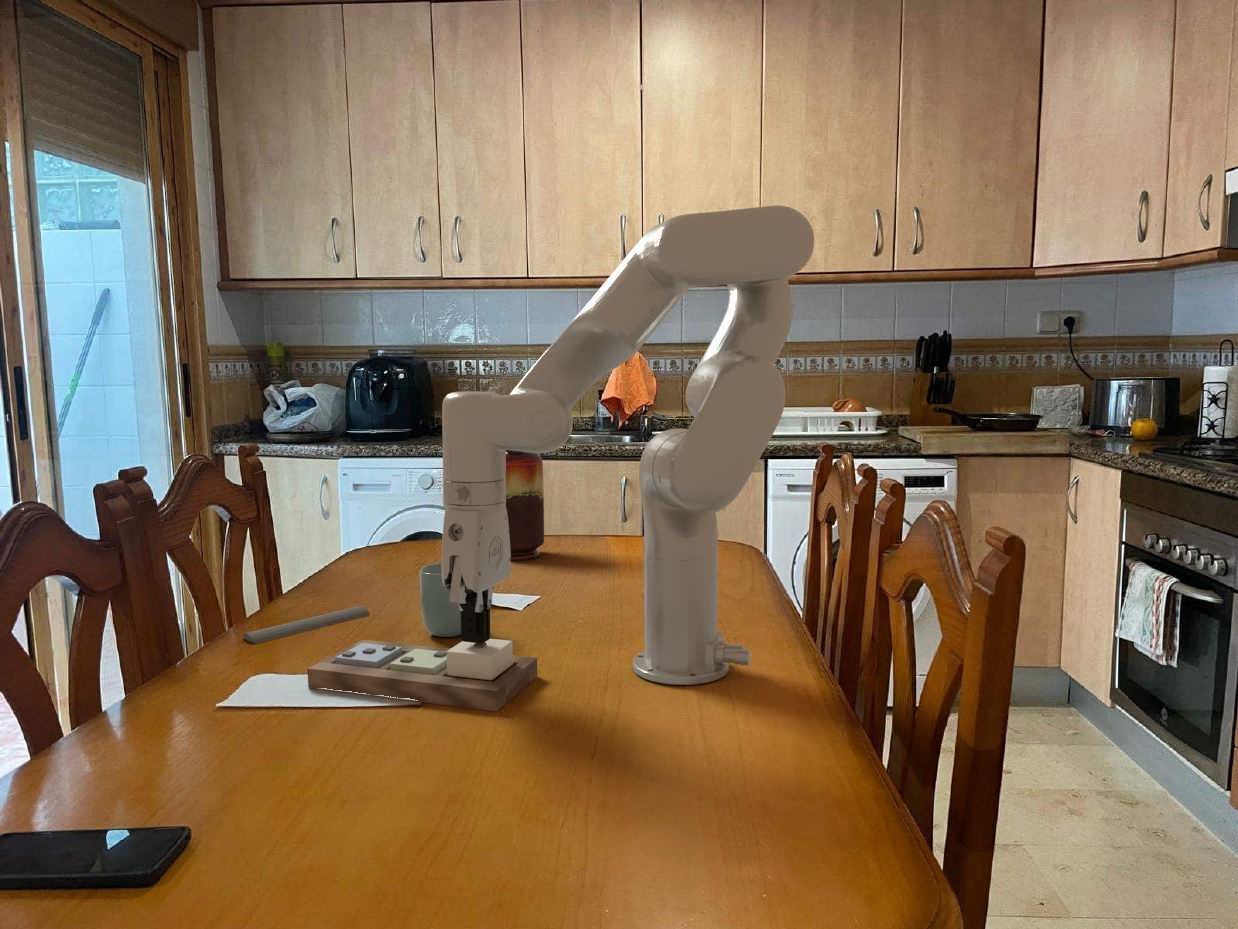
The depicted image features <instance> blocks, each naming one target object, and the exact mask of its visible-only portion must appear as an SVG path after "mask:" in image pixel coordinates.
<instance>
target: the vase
mask: <svg viewBox="0 0 1238 929" xmlns="http://www.w3.org/2000/svg"><path fill="white" fill-rule="evenodd" d="M543 462H544V461H543V459H542V457H541V455H539V454H538V453H528V452H521V451H512V450H506V509H507V516H508V524H509V536H510V555H511V561H512V562H513V561H514V562H516V561H517V562H518V561H529V560H533V559H536V558H539V557H540V556H541V555H540V554H541V553H540V551H539V550H538V548H540V547H541V546H542V545H544V543H545V508H544V507H545V505H544V504H545V502H544V500H545V499H544V495H545V494H544V463H543Z"/></svg>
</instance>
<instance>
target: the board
mask: <svg viewBox="0 0 1238 929" xmlns="http://www.w3.org/2000/svg"><path fill="white" fill-rule="evenodd" d="M362 643H368V644H377V645H392V646H396V647H402V655H400V656H398V657H397V658H395V659H393V660H391V661H390V662H388V663H386V664H385V665H383V666H381V667H379V668H378V669H376V668H368V667H359V666H350V665H342V664H336V661H335V657H337V656H339V655H341V654H342V653H344V652H346V651H348V650H350V649H352V648H354V647H356V646H358V645H360V644H362ZM414 649H424V650H433V651H443V652H447V651H448V650H449V649H450V648H448V647H447V648H446V647H437V646H427V645H418V644H410V643H397V642H389V641H379V640H369V639H361V640H359V641H358V642H356V643H354V644H352V645H350V646H348V647H346V648H344V649H342V650H340V651H338V652H337V653H333V655H330V656H329V657H327V658H324V659H323V660H320V661H319V662H317V663H315V664H313V665H312V666H311V665H310V667H307V669H306V670H307V687H310V689H315V688H327V689H333V690H342V691H352V692H358V693H366V694H370V695H384V696H389V697H390V696H391V697H396V698H397V697H398V698H410V699H415V700H418V701H420V702H419V703H426V704H428V703H429V704H433V705H435V704H436V705H442V706H450V707H457V708H466V709H473V710H482V711H490V712H498V710H501V708H502V707H504V706H505V705H506V704H507V703H509V701H511V700H512V699H513V698H514V697H516V696H517V695H518V694H519V693H520V692H521V691H523V690H524V689H525V688H526V687H527V686H529V684H531V683H532V682H533V681H534V680H535V679H536V678H538V657H532V656H522V655H514V654H513V664H512V665H511V666H510V667H508V668H507V669H506V670H504V671H503V672H502V673H501V674H499V675H498V676H497V677H495V678H494V679H493V680H495V681H490V680H488V681H487V680H481V679H479V680H477V679H472V678H468V677H460V676H451V675H447V667H446V668H444V669H443V670H441V671H440V672H438V673H437V674H435V675H428V674H420V673H411V672H402V671H394V670H390V663H392V662H393V661H395V660H397V659H398V658H400V657H402V656H404V655H405V654H407V653H409V652H410V651H412V650H414ZM370 695H369V696H370Z"/></svg>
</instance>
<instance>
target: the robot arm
mask: <svg viewBox="0 0 1238 929" xmlns="http://www.w3.org/2000/svg"><path fill="white" fill-rule="evenodd" d="M814 246H815V234H814V229H813V228H812V225H811V223H810V221H809V219H808V218H806V216H804V215H803V214H802V213H801V212H800V211H798V210H797V209H794V208H793V207H790V206H786V205H767V206H766V205H765V206H757V207H749V208H740V209H739V208H738V209H729V210H720V211H719V210H718V211H707V212H696V213H695V212H694V213H687V214H680V215H675V216H673V217H671V218H668V219H667V220H665V221H663V222H661V223H659V224H657V225H655V226H653V227H651V228H650V229H649V230H647V232H646V233H645V234H643V236H641V237H640V239H639V240H638V241H637V242H636V243H635V245H633V247H632V248H631V249H630V251H629V252H628V254H627V255H626V256H625V257H624V258H623V259H622V261H621V262H620V263H619V264H618V265H617V267H616V268H615V269H614V271H613V272H612V273H611V274H610V275H609V277H608V278H607V279H606V280H605V282H604V283H603V284H602V285H601V286H600V288H599V289H598V290H597V291H596V292H595V294H594V295H593V296H592V297H591V299H590V300H589V301H588V302H587V303H586V305H585V306H584V307H583V308H582V309H581V311H580V312H578V314H576V316H575V317H574V318H573V319H572V320H571V322H569V324H567V326H566V328H565V329H564V330H563V331H562V332H561V334H559V336H558V337H557V338H556V339H555V341H554V342H553V343H552V344H551V345H550V346H549V347H548V348H547V349H546V350H545V351H544V352H543V354H542V355H541V356H540V357H539V359H537V361H536V362H534V364H533V366H532V367H531V368H530V369H529V371H528V372H527V373H526V374H525V375H524V376H523V378H522V379H521V380H520V381H519V382H518V384H517V385H516V386H515V387H514V388H513V390H512V391H511V392H510V393H509V394H499V393H497V392H492V391H473V390H472V391H470V390H468V391H455V392H450V393H447V395H446V396H445V397H444V398H443V401H442V405H441V406H442V412H441V415H442V416H441V419H442V420H441V422H442V423H441V424H442V426H441V427H442V428H441V430H442V432H441V434H442V499H443V500H442V501H443V502H442V504H443V505H442V506H443V508H445V510H444V515H443V516H444V517H443V526H442V535H441V536H442V540H441V563H442V581H443V585H444V587H445V588H446V589H448V590H451V591H450V602H451V603H458V606H459V610H460V611H461V635H460V639H461V642H462V641H464V642H471V643H480V644H483V643H485V642H486V641H488V640H489V639H491V609H490V608H491V606H492V604H493V591H494V588H496V586H497V585H498V584H500V583H502V582H504V581H505V580H507V578H508V577H509V576H510V575H511V570H512V562H511V555H510V536H509V524H508V516H507V509H506V450H512V451H521V452H528V453H537V454H538V455H539V454H548V453H552V452H554V451H556V450H558V449H559V448H561V447H562V446H564V445H565V443H566V442H568V440H569V439H570V437H571V434H572V431H573V426H574V425H573V424H574V420H573V414H572V412H571V410H572V408H573V407H574V406H575V404H576V403H577V402H578V401H579V400H580V399H581V398H582V397H583V396H584V395H585V393H586V392H587V391H588V390H589V389H590V388H591V387H592V386H593V385H595V383H597V382H598V381H599V380H601V378H602V377H603V376H605V375H607V374H608V373H609V372H612V371H613V370H615V369H617V368H618V367H620V366H622V365H624V364H625V363H626V362H627V361H629V360H630V359H631V358H632V357H634V355H635V354H637V352H639V350H640V349H641V348H642V347H643V345H644V344H645V343H646V342H647V340H648V339H649V338H650V336H652V334H653V332H654V331H655V330H656V329H657V328H658V326H659V325H660V324H661V322H663V320H664V319H665V318H666V316H667V315H668V314H669V313H670V312H671V310H672V309H673V308H674V307H675V306H676V305H677V304H678V302H679V301H680V300H681V299H682V298H683V296H684V295H685V293H686V292H687V291H689V289H695V288H701V287H712V286H713V287H714V286H724V285H727V291H728V304H727V308H726V310H725V314H724V316H723V318H722V320H721V322H720V325H719V327H718V329H717V331H716V332H715V334H714V336H713V337H712V340H711V342H710V343H709V344H708V347H707V348H706V350H705V352H704V354H703V356H702V358H701V359H700V361H699V363H698V365H697V366H696V368H695V369H694V371H693V373H692V375H691V376H690V378H689V380H688V382H687V385H686V386H687V387H686V390H685V403H686V406H687V409H688V411H689V414H691V415H692V417H693V420H692V422H690V423H691V424H690V425H689V427H688V428H668V429H666V430H663V431H661V432H659V433H657V434H656V435H655V436H653V437H652V438H651V439H650V440H649V442H648V443H647V444H646V445H645V447H644V449H643V452H642V453H641V457H640V462H639V469H638V473H639V474H638V476H639V478H638V479H639V485H640V486H639V488H640V496H641V504H642V514H643V515H642V516H643V542H644V543H643V544H644V545H643V546H644V548H643V549H644V550H643V579H644V583H643V584H644V585H643V592H644V593H643V594H644V595H643V598H644V604H643V605H644V606H643V609H644V614H643V615H644V618H643V619H644V622H643V623H644V625H643V626H644V650H642V651H640V652H639V653H637V654H636V655H635V656H634V657H633V659H632V669H633V671H634V673H635V674H637V675H638V676H639V677H641V678H643V679H644V680H648V681H650V682H654V683H659V684H664V685H675V686H690V685H701V684H707V683H711V682H714V681H717V680H719V679H722V678H723V677H725V676H726V675H727V674H728V673H729V671H730V664H731V663H732V664H735V665H739V666H740V665H742V666H749V665H750V662H751V649H745V645H743V644H742V645H741V644H727V642H726V641H724V633H723V632H721V631H720V632H719V631H718V584H719V583H718V581H719V580H718V573H719V572H718V568H719V566H718V560H719V559H718V556H719V534H718V533H719V532H718V519H717V513H718V512H720V511H722V510H724V509H725V508H727V507H729V506H730V505H731V503H733V501H734V500H736V498H737V497H738V495H739V494H740V493H741V492H742V490H743V488H744V487H745V485H746V483H747V482H748V481H749V478H750V477H751V475H752V473H753V471H754V469H755V468H756V466H757V464H758V462H759V461H760V459H761V457H762V454H763V453H764V451H765V449H766V447H767V445H768V443H770V440H771V438H772V437H773V435H774V433H775V431H776V429H777V427H778V426H779V423H780V421H781V419H782V416H783V414H784V413H783V412H784V410H785V404H786V398H787V397H786V396H787V395H786V387H785V385H786V384H785V382H784V379H783V377H782V374H781V373H780V371H779V370H778V368H777V367H776V366H775V364H776V363H777V360H778V358H779V355H781V354H780V353H781V351H782V350H783V347H784V345H785V344H786V341H787V340H788V336H789V334H790V332H791V328H792V322H793V317H794V312H793V311H794V307H793V306H794V305H793V298H792V291H791V288H790V283H789V281H788V280H789V279H788V278H790V277H792V276H794V275H796V274H797V273H799V272H800V271H801V270H803V268H804V267H806V265H807V264H808V263H809V261H810V260H811V257H812V254H813V252H814V248H815V247H814ZM465 584H466V585H465Z"/></svg>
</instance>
